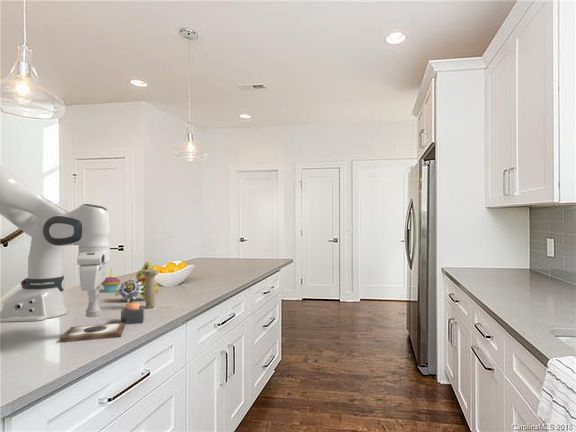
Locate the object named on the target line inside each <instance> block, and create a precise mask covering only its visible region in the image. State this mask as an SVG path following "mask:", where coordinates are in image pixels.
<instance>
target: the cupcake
mask: <svg viewBox="0 0 576 432" xmlns="http://www.w3.org/2000/svg"><path fill="white" fill-rule="evenodd" d="M120 284H121V280H120V278H118V277H113V267H112V266H111V268H110V276H109V277H107V276H106V277H105V280H104V281H103V282H102V283H101V284H100V286H102V287H103V289H104V291H105V292H106V293H113V292H116V291H117V289H118V286H119V285H120ZM105 292H104V293H105Z"/></svg>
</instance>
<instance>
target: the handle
mask: <svg viewBox="0 0 576 432" xmlns="http://www.w3.org/2000/svg"><path fill="white" fill-rule="evenodd" d="M142 274H143V275H144V276H146V285H145V299H144V302H145V308H146V309H153V308H154V307H155V302H156V292H155V281H156V280H155V276H157V275H158V274H159V270H158V269H152V270H143V271H142Z"/></svg>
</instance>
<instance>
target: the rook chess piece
mask: <svg viewBox="0 0 576 432" xmlns="http://www.w3.org/2000/svg"><path fill="white" fill-rule="evenodd" d="M98 294H99V295H100V291H99V292H98V289H97V290H96V295H97V300H96V301H95V302H90V301H89V297H88V306H87V308H86V310H85V317H87V318H96V317H99V316H101V314H102V309H101V308H100V306H99V301H98V300H99V298H98ZM87 295H88V296H89V293H88V292H87Z"/></svg>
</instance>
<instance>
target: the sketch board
mask: <svg viewBox="0 0 576 432" xmlns="http://www.w3.org/2000/svg"><path fill="white" fill-rule="evenodd" d="M125 326H126V324H125V323H121V322H119V323H118V322H115V323H104V324H94V325H79V326H77V325H76V326H71V327H70V328H68V330H67V331H65V333H64V334H63V336H61V338H60V342H61V343H70V342H78V341H79V342H80V340H81V341H90V340H101V339H113V338H121V337H122V335H123V332H124V329H125ZM69 341H70V342H69Z"/></svg>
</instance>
